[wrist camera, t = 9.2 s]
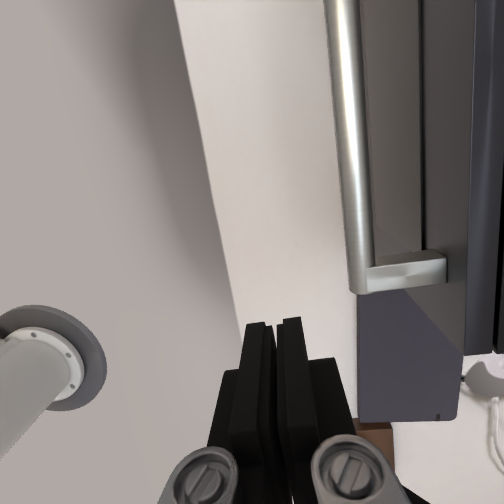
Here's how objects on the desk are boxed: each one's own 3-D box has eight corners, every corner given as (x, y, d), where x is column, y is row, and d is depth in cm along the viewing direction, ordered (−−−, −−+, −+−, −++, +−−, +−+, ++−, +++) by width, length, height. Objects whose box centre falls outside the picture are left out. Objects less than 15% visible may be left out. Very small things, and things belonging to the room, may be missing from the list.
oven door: (321, 260, 39) (365, 365, 20) (284, -61, 29) (301, -434, 11) (385, 252, 38) (492, 353, 19) (368, -83, 28) (547, -534, 10)
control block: (311, 471, 50) (314, 498, 46) (303, 422, 47) (306, 446, 43) (390, 467, 48) (400, 494, 44) (387, 416, 45) (397, 440, 42)
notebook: (356, 278, 39) (357, 414, 46) (359, 283, 38) (360, 423, 44) (465, 271, 38) (450, 412, 44) (472, 276, 36) (456, 421, 43)
